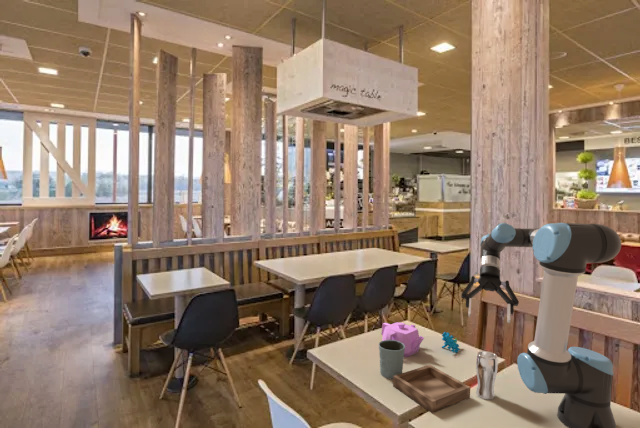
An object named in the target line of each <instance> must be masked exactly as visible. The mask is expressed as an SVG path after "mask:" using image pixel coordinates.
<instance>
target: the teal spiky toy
mask: <svg viewBox="0 0 640 428" xmlns="http://www.w3.org/2000/svg"><path fill="white" fill-rule="evenodd" d="M441 336H442V337H441V339H442V341H444V342H443V344H444V345H442V349H444V348H446V347H447V349H448V350H449V351H450V350H451V353H456V354H457V353H458V352H459V351H460V348H459V347H460V344H459V343H457V342H458V338H454V337H455V336H454V335H451V334H450V332H446V331H444V332H443V333H442V334H441Z"/></svg>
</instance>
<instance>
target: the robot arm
mask: <svg viewBox="0 0 640 428" xmlns="http://www.w3.org/2000/svg"><path fill="white" fill-rule="evenodd" d="M480 239H481V240H480V258H479V278H478V277H475V276H471V278H470V281H469V283H468V284H467V286H465V288H464V289H463V291H462V292H461V296H460V297H461V298H462V299H464V300H465V307H466V308H468V312H467V313H468V315H467V316H468V317H469V318H471V315H472V298H474V297H475V296H476V295H477V294H479V293H480V292H481V291H483V290H484V291H490V292H496V293H497V294H498V295H499V297H501V298H502V299H503V300H504V302H505V303H506V304H507V305H506V316H507V317H506V320H507V321H506V323H507V324H510V323H511V318H512V317H511V315H514V309H515V306H516V307H517V306H518V305H519V303H520V302H519V300H518V298H517V296H516V294H515V292H514V291H513V289H512V288H511V286H510V282H509V281H510V280H505V281H501V252H502V251H503V250H505V248H532V251H533V255H534V257H535V259H536V260H537V261H538V265H539V266H540V267H541V268H542V269H543V277H542V283H541V291H540V298H539V304H538V305H539V306H538V312H537V318H536V327H535V334H534V339H533V341H531V342H529V343H528V344H527V351H526V352H522V353H519V355H518V356H517V362H516V363H517V370H518V373H519V376H520V378H521V381H522V382H523V384H524V385H525V387H526V388H527V389H528V390H529V391H531V392H533V393H537V394H543V395H546V394H564V396H563V397H562V399H561V401H560V403H559V404H558V406H557V418H558V420H559V421H560V422H561V423H562V424H563V425H564V426H565V427H567V428H617V425H616V421H615V418H614V414H613V412H612V408H611V403H612V401H611V400H612V388H613V380H614V375H615V374H614V364H613V362H612V360H611V359H610V358H608V357H607V356H605V355H603V354H601V353H599V352H597V351H595V350H591V349H588V348H585V347H579V346H570V347H569V348H568V349H567V347H568V342H569V336H570V329H571V323H572V318H573V317H572V316H573V310H574V304H575V297H576V291H577V285H578V284H577V283H578V278H579V277H580V276H581V275H583V274H585V273H586V268H587V264H601V263H606V262H608V261H611V260H612V259H615V257H617V255H618V254H619V253H620V251H621V248H622V240H621V238H620V235H619V234H618V232H617V231H615V230H614V229H613V228H611V227H610V226H608V225H605V224H600V223H577V222H575V223H574V222H572V223H571V222H556V223H555V222H554V223H553V222H551V223H547V224H544V225H542V226H541V227H540V228H537V227H536V228H520V227H519V228H517V227H514V226H512V225H511V224H508V223H507V222H502V223H499V224H497V225H496V227H494V228H493V229H492V231H491V232H490V233H488V234H485V235H483V236H482V237H481V238H480ZM476 283H478V286H476V288H474V289H473V290H471V289H472V288H473V286H474V284H476ZM501 286H502V287H503V288H504V289H505V291H506V292H507V293H506V292H505V291H504V290H503V289H502V287H501Z"/></svg>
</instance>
